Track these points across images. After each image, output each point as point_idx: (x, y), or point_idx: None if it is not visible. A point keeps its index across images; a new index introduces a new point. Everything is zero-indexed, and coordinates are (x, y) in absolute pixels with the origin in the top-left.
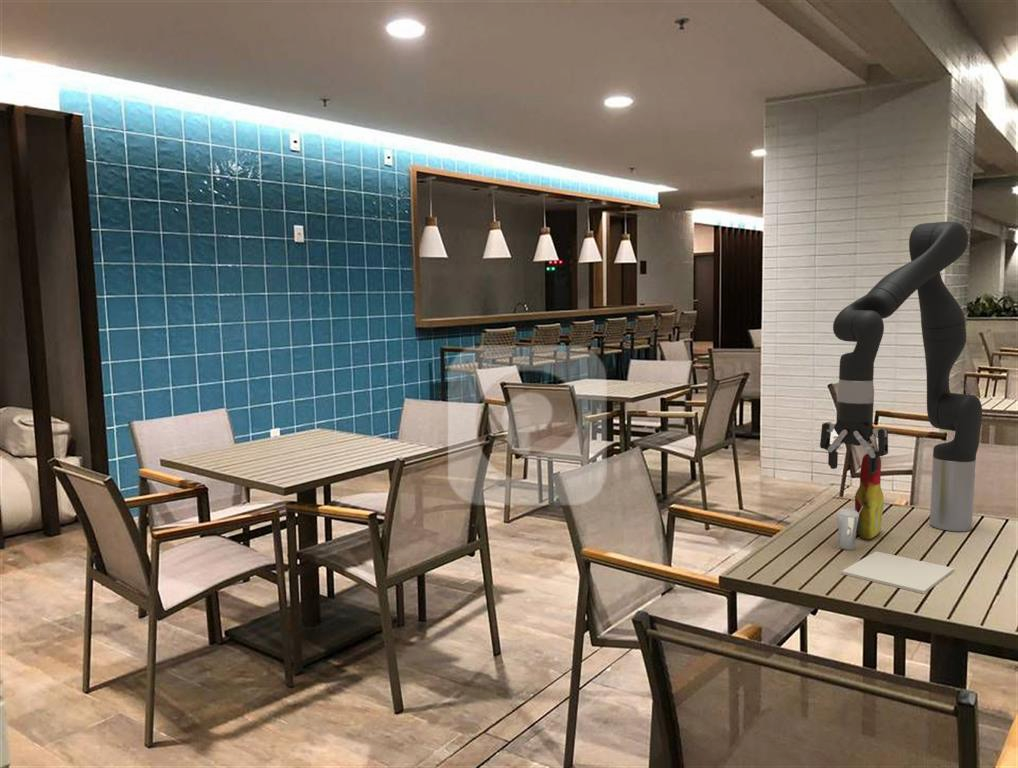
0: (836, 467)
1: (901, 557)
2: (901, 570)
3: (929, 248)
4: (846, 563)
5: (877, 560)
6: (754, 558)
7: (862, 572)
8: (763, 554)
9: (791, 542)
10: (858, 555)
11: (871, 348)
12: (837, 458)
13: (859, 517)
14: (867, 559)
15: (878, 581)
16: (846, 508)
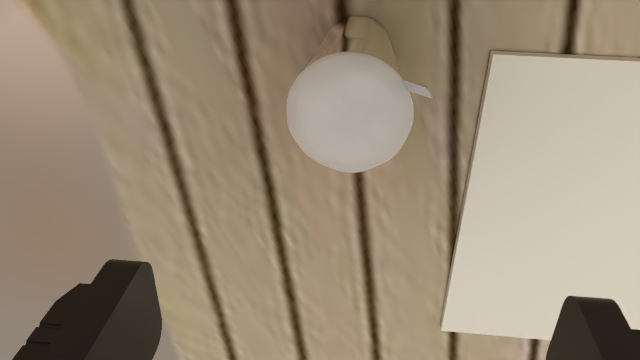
0: (150, 276)
1: (615, 70)
2: (625, 226)
3: None
4: (421, 229)
5: (524, 171)
6: (178, 336)
7: (502, 310)
8: (172, 294)
9: (152, 124)
10: (431, 117)
11: None
12: (97, 340)
13: None
14: (486, 182)
15: None
16: (324, 98)
